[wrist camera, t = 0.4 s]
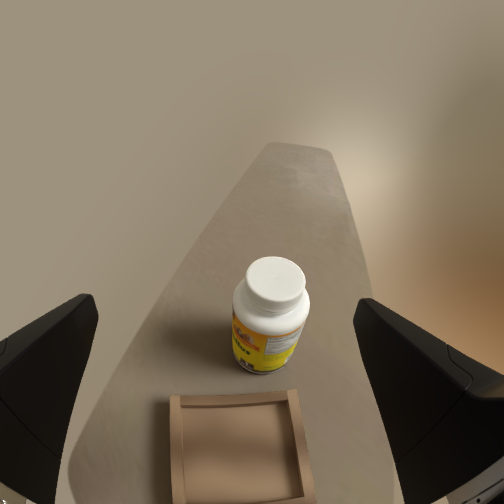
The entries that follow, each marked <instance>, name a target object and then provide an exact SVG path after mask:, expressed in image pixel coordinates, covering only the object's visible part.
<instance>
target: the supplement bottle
mask: <svg viewBox="0 0 504 504" xmlns="http://www.w3.org/2000/svg"><path fill="white" fill-rule="evenodd" d="M309 308H310V301H309V296H308V293H307V291H306V289H305V276H304V274H303V272H302V270H301V269H300V268H299V267H298V266H297V265H296V264H295V263H293V262H292V261H290V260H287V259H285V258H281V257H264V258H261V259H258V260H256V261H255V262H253V263H252V264H251V265H250V266H249V267H248V269H247V272H246V277H245V278H244V279H242V280H241V282H240V283H239V284H238V285H237V287H236V289H235V291H234V295H233V318H232V349H233V353H234V356H235V358H236V360H237V361H238V362H239V364H240V365H241V366H243V367H244V368H245V369H247V370H249V371H251V372H254V373H259V374H268V373H273V372H275V371H278V370H280V369H281V368H282V367H284V366H285V365H286V364H287V362H288V361H289V359H290V358H291V355H292V353H293V351H294V348H295V346H296V344H297V341H298V339H299V336H300V334H301V331H302V329H303V326H304V323H305V321H306V318H307V316H308V312H309Z"/></svg>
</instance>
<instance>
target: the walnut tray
mask: <svg viewBox="0 0 504 504" xmlns="http://www.w3.org/2000/svg"><path fill="white" fill-rule="evenodd" d="M170 461H171V482H172V498H173V504H316V503H317V501H316V495H315V489H314V483H313V477H312V471H311V466H310V460H309V454H308V449H307V443H306V438H305V432H304V427H303V421H302V416H301V410H300V405H299V400H298V394H297V389H295V390H286V391H277V392H267V393H256V394H241V395H219V396H172V395H170Z"/></svg>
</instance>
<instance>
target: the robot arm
mask: <svg viewBox="0 0 504 504" xmlns="http://www.w3.org/2000/svg"><path fill="white" fill-rule="evenodd" d="M97 323H98V311H97V308H96V305H95V302H94V298H93V296H92V295H91V294H79V295H78V296H76V297H74V298H72V299H70V300H69V301H67V302H65V303H63V304H62V305H60V306H58V307H57V308H55V309H53V310H51V311H50V312H48V313H46V314H45V315H43V316H41V317H40V318H38V319H36V320H35V321H33V322H31V323H30V324H28V325H26V326H25V327H23V328H21V329H20V330H18V331H16V332H15V333H13V334H12V335H10V336H9V337H8V338H5V339H4V340H2V341H0V504H25V503H26V499H29V500H30V501H32V502H34V503H36V504H55V495H56V488H57V481H58V475H59V469H60V464H61V458H62V452H63V448H64V443H65V438H66V434H67V430H68V426H69V422H70V418H71V414H72V410H73V407H74V403H75V399H76V396H77V393H78V389H79V386H80V383H81V379H82V377H83V373H84V370H85V367H86V364H87V361H88V358H89V355H90V351H91V347H92V343H93V339H94V334H95V331H96V327H97ZM353 325H354V329H355V333H356V337H357V341H358V345H359V349H360V353H361V357H362V361H363V364H364V367H365V369H366V372H367V375H368V378H369V381H370V384H371V387H372V390H373V393H374V396H375V399H376V402H377V405H378V408H379V411H380V414H381V417H382V421H383V424H384V427H385V430H386V434H387V437H388V441H389V444H390V447H391V451H392V455H393V458H394V462H395V463H396V464H395V466H396V470H397V474H398V478H399V482H400V486H401V490H402V494H403V498H404V502H405V504H431V503H433V502H435V501H437V500H439V499H441V498H443V497H444V496H446V497H447V500H448V502H449V504H504V375H502V374H500V373H498V372H496V371H495V370H493V369H491V368H489V367H487V366H485V365H483V364H481V363H479V362H477V361H476V360H474V359H472V358H470V357H468V356H466V355H465V354H463V353H461V352H460V351H458V350H456V349H455V348H453V347H452V346H450V345H448V344H447V345H446V343H445V342H443V341H442V340H440V339H438V338H437V337H435V336H433V335H432V334H430V333H429V332H427V331H425V330H423V329H422V328H420V327H418V326H417V325H415V324H414V323H412V322H410V321H409V320H407V319H405V318H403V317H402V316H400V315H399V314H397V313H395V312H394V311H392V310H390V309H389V308H387V307H385V306H384V305H382V304H380V303H378V302H377V301H375V300H373V299H372V298H362V299H360V300H359V302H358V305H357V308H356V311H355V314H354V318H353Z"/></svg>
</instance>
